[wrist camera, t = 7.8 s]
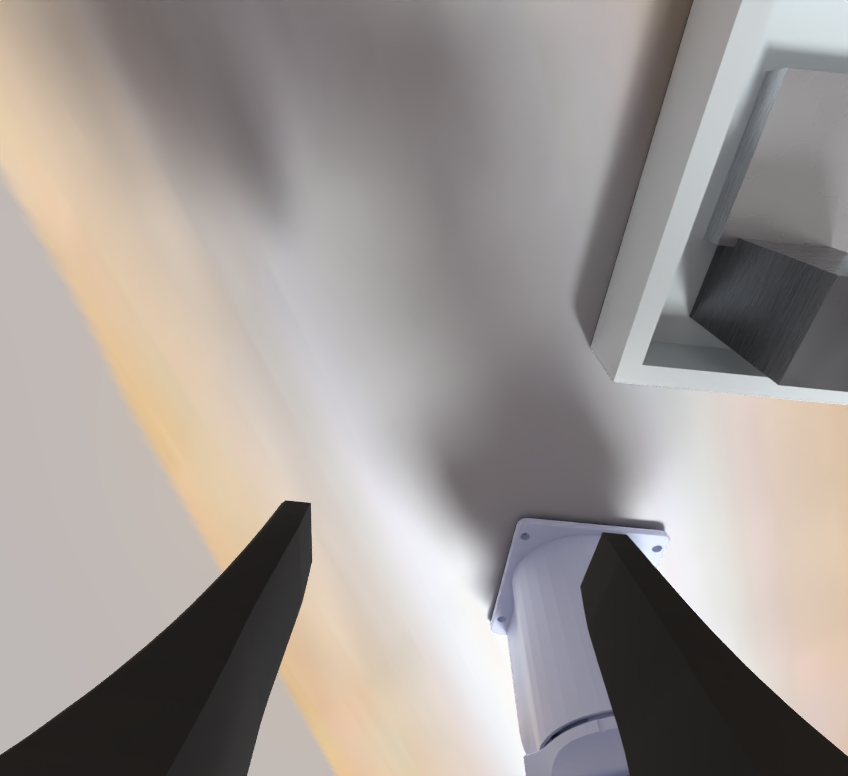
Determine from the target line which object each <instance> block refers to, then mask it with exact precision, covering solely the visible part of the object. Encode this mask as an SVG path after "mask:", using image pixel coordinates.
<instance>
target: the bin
mask: <svg viewBox="0 0 848 776" xmlns="http://www.w3.org/2000/svg"><path fill="white" fill-rule="evenodd" d="M783 68H796V69H805V70H814V71H823V72H832V73H841V74H848V0H693V4H692V7H691V10H690V14H689V17H688V21H687V24H686V27H685V31H684V34H683V37H682V41H681V44H680V47H679V51H678V54H677V58H676V61H675V64H674V68H673V71H672V74H671V78H670V81H669V85H668V88H667V91H666V95H665V98H664V101H663V105H662V108H661V112H660V115H659V118H658V122H657V125H656V128H655V132H654V135H653V138H652V142H651V145H650V149H649V152H648V155H647V159H646V162H645V165H644V169H643V172H642V176H641V179H640V182H639V186H638V189H637V192H636V196H635V199H634V203H633V206H632V209H631V213H630V216H629V219H628V223H627V226H626V229H625V233H624V236H623V240H622V243H621V246H620V250H619V253H618V256H617V260H616V263H615V267H614V270H613V273H612V277H611V280H610V283H609V287H608V290H607V293H606V297H605V300H604V304H603V307H602V310H601V314H600V317H599V320H598V324H597V327H596V331H595V334H594V337H593V341H592V344H591V347H590V348H591V350H592V351H593V353H594V354H595V356H596V357H597V359H598V360H599V362H600V363H601V365H602V366H603V368H604V369H605V371H606V372H607V374H608V375H609V377H610V378H611V380H612V381H613V382H615V383H625V384H635V385H645V386H656V387H666V388H676V389H686V390H697V391H707V392H717V393H727V394H738V395H748V396H758V397H768V398H779V399H789V400H799V401H809V402H820V403H830V404H840V405H848V392H842V391H832V390H822V389H811V388H801V387H791V386H781V385H777V384H776V383H775V382H774V381H772V380H771V379H770V378H768V377H767V376H766V375H764V374H763V373H762V372H761V371H759V370H758V369H757V368H755V367H754V366H753V365H751V364H750V363H749V362H748V361H746V360H745V359H744V358H742V357H741V356H740V355H739V354H737V353H736V352H735V351H733V350H732V349H731V348H729V347H728V346H727V345H726V344H724V343H723V342H722V341H720V340H719V339H718V338H716V337H715V336H714V335H713V334H711V333H710V332H709V331H707V330H706V329H705V328H704V327H702V326H701V325H700V324H698V323H697V322H696V321H694V320H693V319H692V318H691V317H689V316H690V313H691V311H692V308H693V306H694V303H695V301H696V298H697V296H698V293H699V291H700V288H701V286H702V283H703V281H704V278H705V276H706V273H707V271H708V268H709V266H710V263H711V261H712V258H713V256H714V253H715V251H716V248H717V246H718V245H716V244H714V243H712V242H709V241H707V240H705V239H703V238H704V235H705V232H706V230H707V227H708V224H709V222H710V219H711V217H712V214H713V211H714V209H715V206H716V203H717V201H718V198H719V196H720V193H721V190H722V188H723V185H724V182H725V180H726V177H727V175H728V172H729V169H730V167H731V164H732V161H733V159H734V156H735V154H736V151H737V148H738V146H739V143H740V140H741V138H742V135H743V133H744V130H745V127H746V125H747V122H748V119H749V117H750V114H751V111H752V109H753V106H754V104H755V101H756V98H757V96H758V93H759V90H760V88H761V85H762V83H763V80H764V77H765V75H766V72H767V71H771V70H777V69H783Z"/></svg>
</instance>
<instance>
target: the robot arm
mask: <svg viewBox="0 0 848 776" xmlns="http://www.w3.org/2000/svg"><path fill="white" fill-rule="evenodd" d="M523 533H527V534H524V535H523ZM669 542H670V538H669V536H668V534H667V533H666V532H665V531H662V530H652V529H641V528H631V527H620V526H609V525H598V524H587V523H576V522H566V521H555V520H544V519H533V518H523V519H521V520H519V521H518V523H517V525H516V529H515V532H514V536H513V540H512V544H511V548H510V551H509V555H508V559H507V563H506V566H505V570H504V574H503V578H502V581H501V585H500V589H499V593H498V597H497V600H496V604H495V608H494V612H493V615H492V619H491V623H490V625H491V631H492V632H494V633H496V634H504V635H507V638H508V646H509V653H510V661H511V669H512V677H513V685H514V692H515V700H516V708H517V716H518V724H519V731H520V736H521V741H522V744H523V748H524V750H525V753H526V755H525V756H524V764H525V771H526V776H848V756H847V755H846V754H844V753H843V752H842V751H841V750H840V749H838V748H837V747H836V746H835V745H834V744H832V743H831V742H830V741H829V740H828V739H826V738H825V737H824V736H823V735H822V734H820V733H819V732H818V731H817V730H816V729H814V728H813V727H812V726H811V725H810V724H809V723H808V722H806V721H805V720H804V719H803V718H802V717H801V716H800V715H798V714H797V713H796V712H795V711H794V710H793V709H792V708H791V707H789V706H788V705H787V704H786V703H785V702H784V701H783V700H782V699H781V698H780V697H779V696H778V695H776V694H775V693H774V692H773V691H772V690H771V689H770V688H769V687H768V686H767V685H766V684H765V683H763V682H762V681H761V680H760V679H759V678H758V677H757V676H756V675H755V674H754V673H753V672H752V671H751V670H750V669H749V668H748V667H747V666H746V665H745V664H744V663H743V662H742V661H741V660H740V659H739V658H738V657H737V656H736V655H735V654H734V653H733V652H732V651H731V650H730V649H729V648H728V647H727V646H726V645H725V644H724V643H723V642H722V641H721V640H720V639H719V638H718V637H717V636H716V635H715V634H714V632H713V631H712V630H711V629H710V628H709V627H708V626H707V625H706V624H705V623H704V622H703V621H702V620H701V619H700V617H699V616H698V615H697V614H696V613H695V612H694V611H693V610H692V609H691V608H690V606H689V605H688V604H687V603H686V602H685V601H684V600H683V599H682V597H681V596H680V595H679V594H678V593H677V592H676V591H675V589H674V588H673V587H672V586H671V585H670V584H669V583H668V581H667V580H666V579H665V578H664V577H663V576H662V574H661V573H660V572H659V571H658V570H657V569H656V568H657V566H658V564H659V562H660V560H661V558H662V556H663V554H664V552H665V550H666V548H667V546H668V544H669ZM311 563H312V536H311V503H305V502H295V501H284V502H283V503H281V505H280V506H279V507H278V509H277V510H276V511H275V513H274V514H273V515H272V516H271V518H270V519H269V520H268V521H267V523H266V524H265V525H264V526H263V528H262V529H261V530H260V531H259V532H258V534H257V535H256V536H255V537H254V538H253V540H252V541H251V542H250V543H249V544H248V545H247V547H246V548H245V549H244V550H243V551H242V552H241V553H240V554H239V556H238V557H237V558H236V559H235V560H234V561H233V562H232V563H231V564H230V566H229V567H228V568H227V569H226V570H225V571H224V572H223V573H222V574H221V575H220V576H219V577H218V579H216V580H215V581H214V582H213V583H212V584H211V586H210V587H209V588H208V589H207V590H206V591H205V592H204V593H203V594H202V595H201V596H200V597H199V598H198V599H197V600H196V601H195V602H194V603H193V604H192V605H191V606H190V607H189V608H187V609H186V610H185V612H183V613H182V614H181V615H180V616H179V617H178V618H177V619H176V620H175V621H174V622H173V623H172V624H170V625H169V626H168V627H167V628H166V629H165V630H164V631H163V632H162V633H160V634H159V635H158V636H157V637H156V638H155V639H153V640H152V641H151V642H150V643H149V644H148V645H147V646H145V647H144V648H143V649H142V650H141V651H139V652H138V653H137V654H136V655H135V656H133V657H132V658H131V659H130V660H129V661H127V662H126V663H125V664H124V665H122V666H121V667H120V668H119V669H118V670H117V671H115V672H114V673H113V674H112V675H110V676H109V677H108V678H106V679H105V680H104V681H103V682H101V683H100V684H99V685H97V686H96V687H95V688H94V689H92V690H91V691H90V692H88V693H87V694H86V695H84V696H83V697H81V698H80V699H79V700H77V701H76V702H75V703H73V704H72V705H70V706H69V707H68V708H66V709H65V710H64V711H62V712H61V713H60V714H58V715H57V716H56V717H54V718H53V719H51V720H50V721H49V722H47V723H46V724H45V725H43V726H42V727H40V728H39V729H38V730H36V731H35V732H33V733H32V734H31V735H29V736H28V737H26V738H25V739H23V740H22V741H21V742H19V743H18V744H16V745H15V746H13V747H12V748H10V749H9V750H7V751H6V752H4V753H3V754H1V755H0V776H247V773H248V769H249V765H250V762H251V758H252V754H253V750H254V746H255V743H256V739H257V735H258V731H259V727H260V724H261V720H262V717H263V714H264V711H265V707H266V704H267V701H268V698H269V695H270V692H271V689H272V687H273V684H274V681H275V678H276V675H277V673H278V670H279V667H280V664H281V661H282V658H283V656H284V653H285V650H286V647H287V644H288V641H289V639H290V636H291V633H292V630H293V627H294V624H295V622H296V619H297V616H298V613H299V610H300V607H301V604H302V601H303V597H304V593H305V589H306V585H307V580H308V576H309V572H310V567H311Z"/></svg>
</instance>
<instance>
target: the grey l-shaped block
mask: <svg viewBox="0 0 848 776" xmlns="http://www.w3.org/2000/svg"><path fill="white" fill-rule="evenodd" d="M703 239H705V240H707V241H709V242H712V243H714V244H716V245H718V246H717V248H716V251H715V253H714V256H713V258H712V261H711V263H710V266H709V268H708V271H707V273H706V276H705V278H704V281H703V283H702V286H701V288H700V291H699V293H698V296H697V298H696V301H695V303H694V306H693V308H692V311H691V313H690V316H689V317H691V318H692V319H693V320H694V321H696V322H697V323H698V324H700V325H701V326H702V327H704V328H705V329H706V330H707V331H709V332H710V333H711V334H713V335H714V336H715V337H716V338H718V339H719V340H720V341H722V342H723V343H724V344H726V345H727V346H728V347H729V348H731V349H732V350H733V351H735V352H736V353H737V354H739V355H740V356H741V357H742V358H744V359H745V360H746V361H748V362H749V363H750V364H751V365H753V366H754V367H755V368H757V369H758V370H759V371H761V372H762V373H763V374H764V375H766V376H767V377H768V378H770V379H771V380H772V381H774V382H775V383H776V384H777V385H781V386H791V387H801V388H811V389H822V390H832V391H842V392H848V74H841V73H832V72H823V71H814V70H805V69H796V68H783V69H777V70H771V71H767V72H766V75H765V77H764V80H763V83H762V85H761V88H760V90H759V93H758V96H757V98H756V101H755V104H754V106H753V109H752V111H751V114H750V117H749V119H748V122H747V125H746V127H745V130H744V133H743V135H742V138H741V140H740V143H739V146H738V148H737V151H736V154H735V156H734V159H733V161H732V164H731V167H730V169H729V172H728V175H727V177H726V180H725V182H724V185H723V188H722V190H721V193H720V196H719V198H718V201H717V203H716V206H715V209H714V211H713V214H712V217H711V219H710V222H709V224H708V227H707V230H706V232H705V235H704V238H703Z"/></svg>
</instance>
